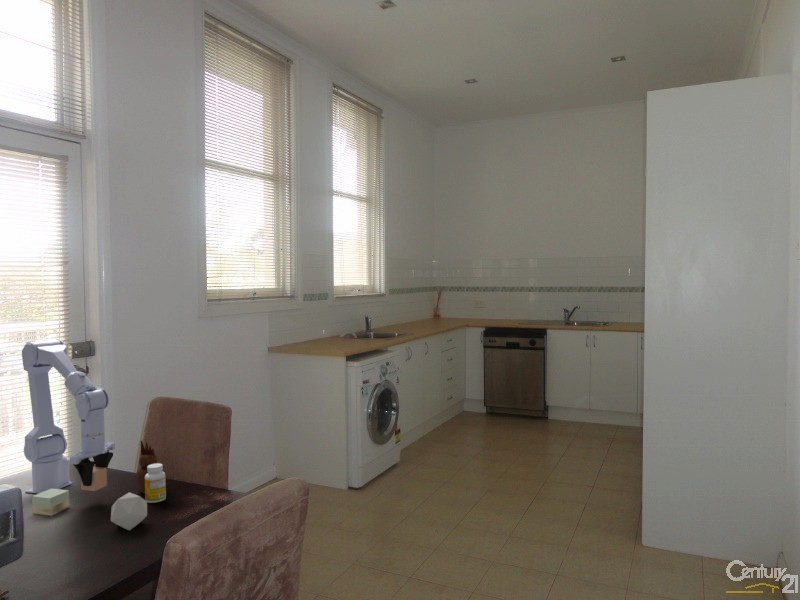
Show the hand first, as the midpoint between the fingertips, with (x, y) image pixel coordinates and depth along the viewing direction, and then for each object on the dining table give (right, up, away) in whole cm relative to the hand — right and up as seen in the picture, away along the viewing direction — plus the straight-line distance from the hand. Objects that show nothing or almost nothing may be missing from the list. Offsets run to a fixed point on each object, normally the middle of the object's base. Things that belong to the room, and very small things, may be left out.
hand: (94, 482), depth 164 cm
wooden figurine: (+11, -6, +9) cm, 15 cm away
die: (+17, -7, -15) cm, 24 cm away
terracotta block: (0, -1, 0) cm, 1 cm away
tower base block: (-9, -6, -5) cm, 12 cm away
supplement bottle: (+16, -6, +2) cm, 17 cm away
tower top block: (-9, -4, -5) cm, 11 cm away
